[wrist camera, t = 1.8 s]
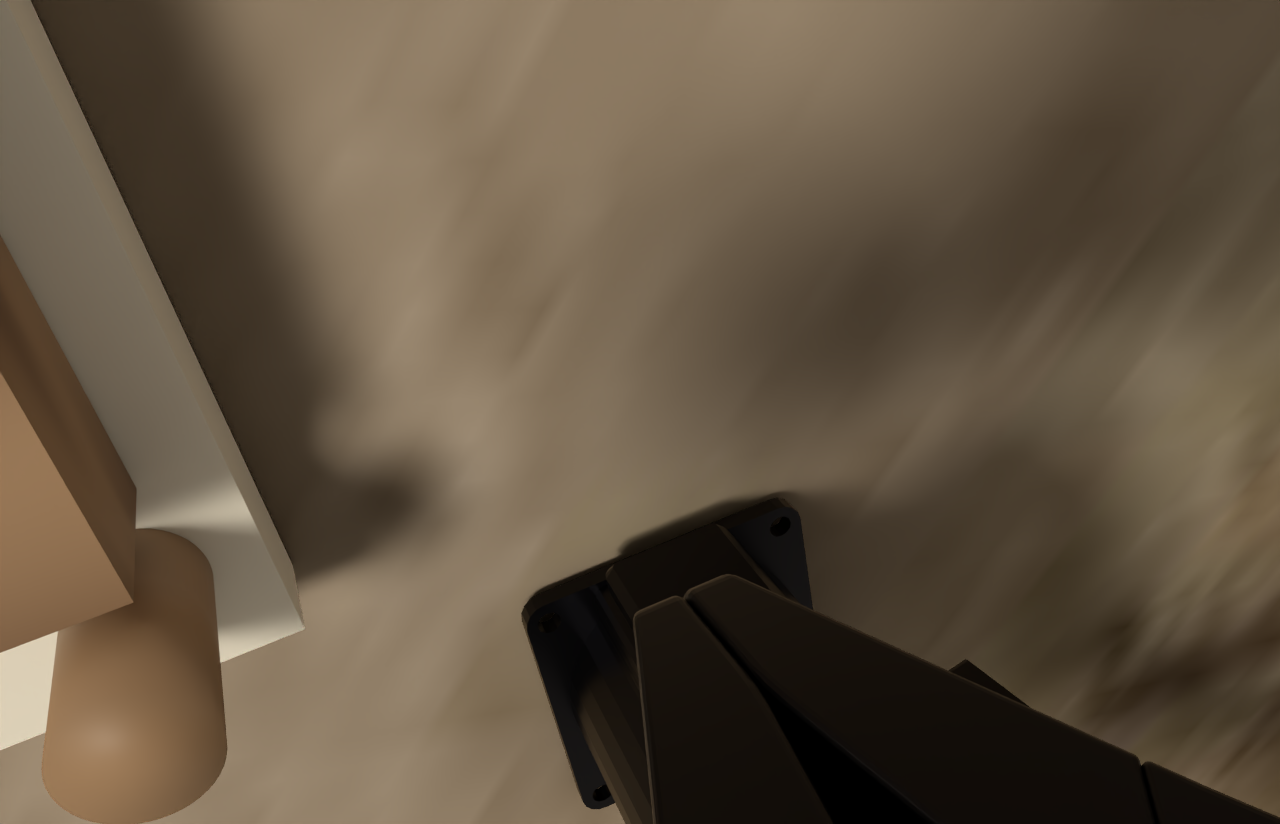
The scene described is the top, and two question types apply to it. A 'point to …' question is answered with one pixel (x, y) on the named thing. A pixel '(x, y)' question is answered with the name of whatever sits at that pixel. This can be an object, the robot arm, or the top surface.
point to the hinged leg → (54, 484)
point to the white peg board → (159, 467)
